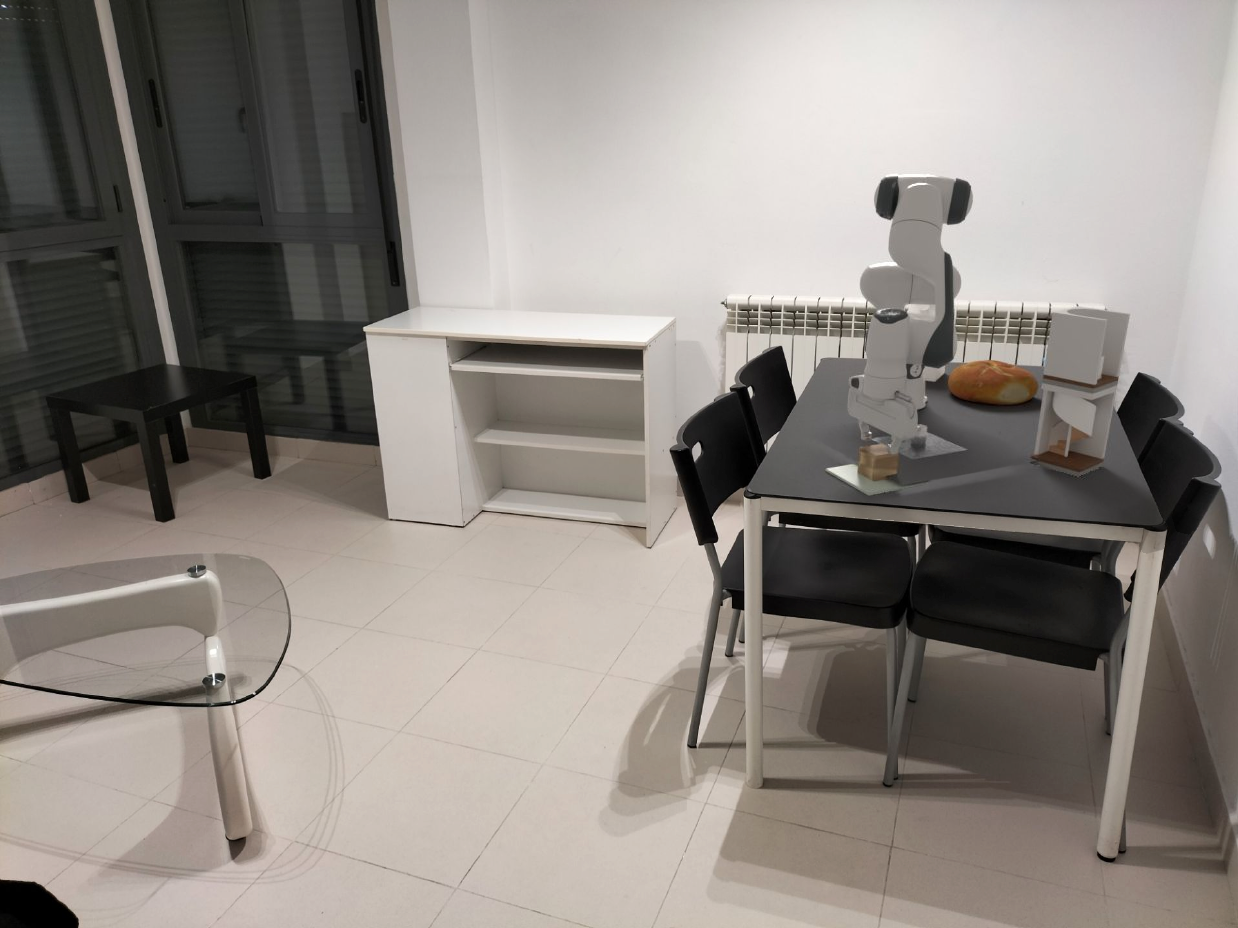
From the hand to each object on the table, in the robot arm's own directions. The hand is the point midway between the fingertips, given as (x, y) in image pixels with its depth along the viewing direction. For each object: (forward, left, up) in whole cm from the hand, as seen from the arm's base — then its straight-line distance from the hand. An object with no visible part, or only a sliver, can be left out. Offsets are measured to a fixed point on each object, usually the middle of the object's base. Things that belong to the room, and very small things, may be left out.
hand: (878, 446), depth 203 cm
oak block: (0, 0, -7) cm, 7 cm away
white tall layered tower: (+11, +44, -7) cm, 46 cm away
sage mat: (0, 0, -7) cm, 7 cm away
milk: (-67, +66, -7) cm, 94 cm away
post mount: (-11, +20, -7) cm, 24 cm away
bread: (-39, +68, -8) cm, 79 cm away
